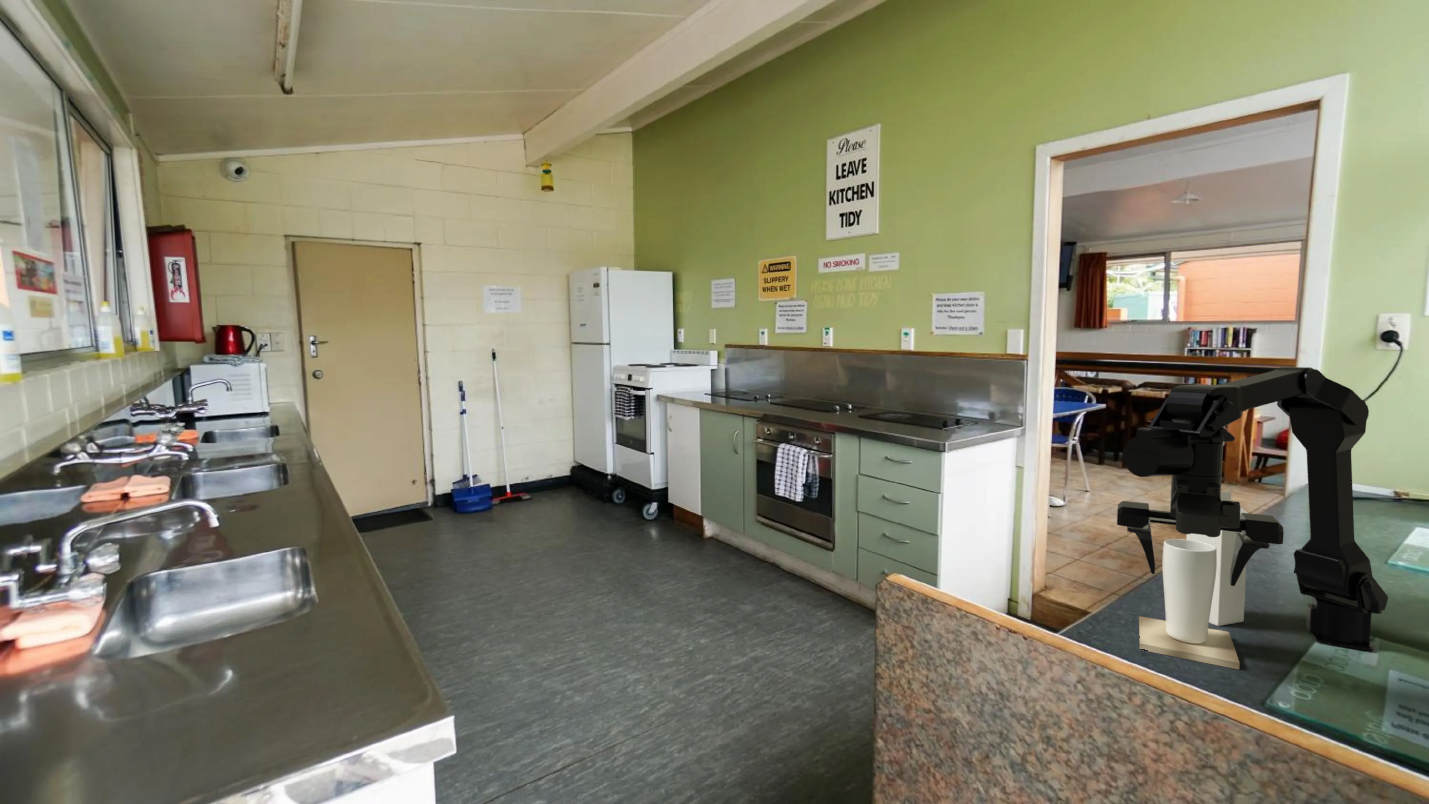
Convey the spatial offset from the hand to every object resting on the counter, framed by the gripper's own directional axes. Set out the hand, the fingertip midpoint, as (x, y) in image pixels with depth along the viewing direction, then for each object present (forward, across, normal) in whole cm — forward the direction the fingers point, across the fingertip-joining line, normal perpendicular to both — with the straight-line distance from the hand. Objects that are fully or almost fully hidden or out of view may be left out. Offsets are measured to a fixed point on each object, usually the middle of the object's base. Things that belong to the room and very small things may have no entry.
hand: (1191, 579), depth 92 cm
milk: (+13, +5, +24) cm, 28 cm away
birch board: (+13, 0, +9) cm, 16 cm away
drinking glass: (+12, 0, +9) cm, 15 cm away
